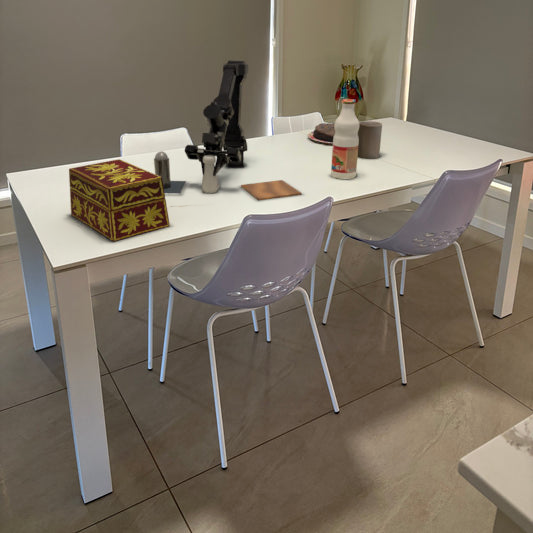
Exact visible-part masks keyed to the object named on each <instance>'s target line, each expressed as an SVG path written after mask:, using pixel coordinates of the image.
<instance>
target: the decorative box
mask: <svg viewBox="0 0 533 533" xmlns="http://www.w3.org/2000/svg"><path fill="white" fill-rule="evenodd" d="M68 179H69V180H68V182H69V200H70V202H69V203H70V215H71V216H72V217H74V218H75V219H77V220H79V221H80V222H82V223H84V224H85V225H86V226H88V227H90V228H91V229H93V230H95V231H96V232H98V233H99V234H101V235H103V236H104V237H105V238H107V239H109V240H110V241H111V242H116V241H120V240H125V239H127V238H130V237H135V236H138V235H142V234H145V233H149V232H153V231H156V230H159V229H164V228H167V227H170V225H171V223H170V218H169V212H168V211H169V210H168V207H167V206H168V205H167V200H166V199H167V198H166V193H164V187H163V181H162V177H160V176H158V175H156V174H155V173H154V172H151V171H150V170H149V171H148V170H147V169H144V168H141V167H140V166H137V165H134V164H132V163H130V162H127V161H125V160H122V159H119V158H117V159H113V160H108V161H102V162H96V163H92V164H86V165H82V166H81V165H79V166H75V167H71V168H68Z"/></svg>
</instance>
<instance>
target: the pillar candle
mask: <svg viewBox="0 0 533 533" xmlns="http://www.w3.org/2000/svg"><path fill="white" fill-rule="evenodd" d="M359 124H360V126H359V130H358V137H359V145H358V157H357V158H360V159H367V160H368V159H369V160H371V159H377V158H380V152H381V142H382V130H383V123H382V122H379V121H375V120H371V119H370V120H362V121H359Z"/></svg>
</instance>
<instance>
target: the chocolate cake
mask: <svg viewBox="0 0 533 533" xmlns="http://www.w3.org/2000/svg"><path fill="white" fill-rule="evenodd" d="M334 124H335V122H334V123H332V122H331V123H330V122H327V123H319V124H318V125H315V127H314V130H313V131H311V132H309V133H308V134H307V137H308V138H309V139H310V140H311V141H312V143H318V144H324V145H326V146H333V137H334V135H335V128H334Z"/></svg>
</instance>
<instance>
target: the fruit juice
mask: <svg viewBox="0 0 533 533" xmlns="http://www.w3.org/2000/svg"><path fill="white" fill-rule="evenodd" d="M355 106H356V99H352V98H344V99H343V98H342V99H341V110H340V113H339V115H338V116H337V118H336V119H335V120H334V123H335V124H334V128H335V135H334V137H333V145H332V150H331V151H332V152H331V169H330V173H331V174H330V175H331V177H333V178H335V179H339V180H351V179H354V178H356V176H357V170H358V168H357V167H358V158H359V157H358V145H359V137H358V130H359V126H360V124H359V122H360V120H359V119H358V118H357V116H356V112H355Z"/></svg>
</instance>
